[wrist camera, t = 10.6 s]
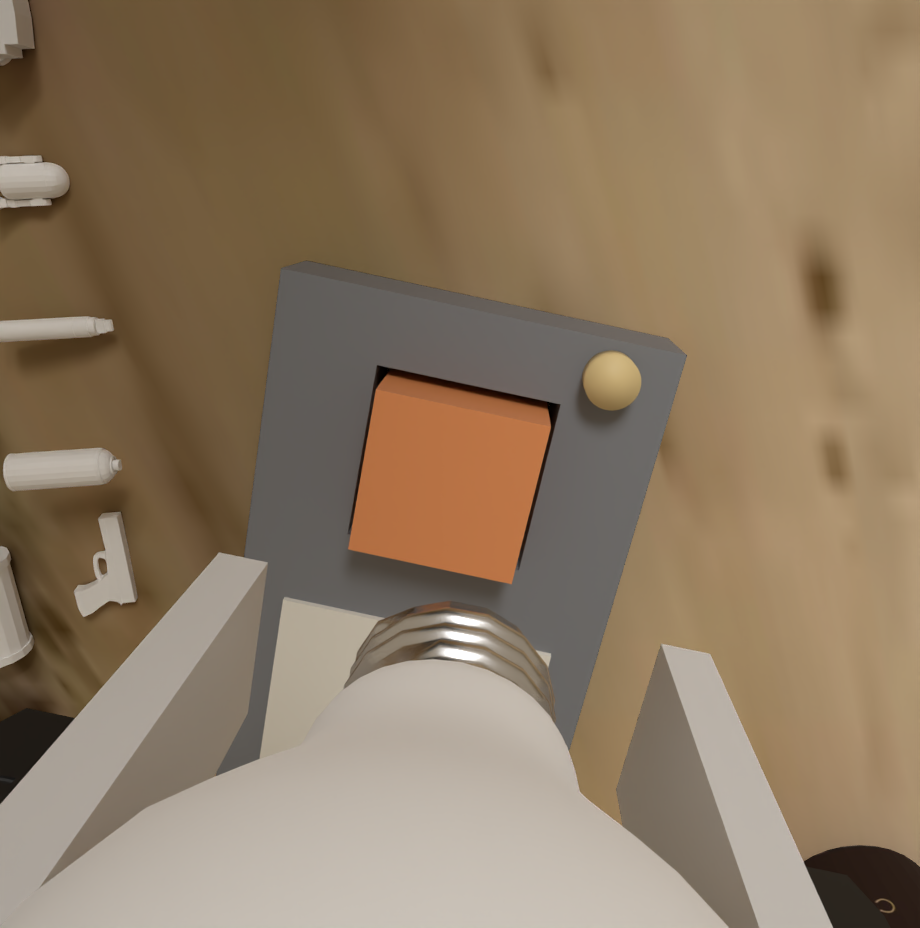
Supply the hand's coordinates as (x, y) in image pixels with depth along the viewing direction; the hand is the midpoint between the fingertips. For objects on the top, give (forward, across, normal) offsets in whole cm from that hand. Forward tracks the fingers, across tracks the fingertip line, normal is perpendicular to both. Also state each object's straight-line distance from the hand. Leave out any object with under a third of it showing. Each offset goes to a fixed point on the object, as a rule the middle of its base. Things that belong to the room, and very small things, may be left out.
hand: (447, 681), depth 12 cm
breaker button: (+15, -1, -1) cm, 15 cm away
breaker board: (+16, -1, -6) cm, 17 cm away
